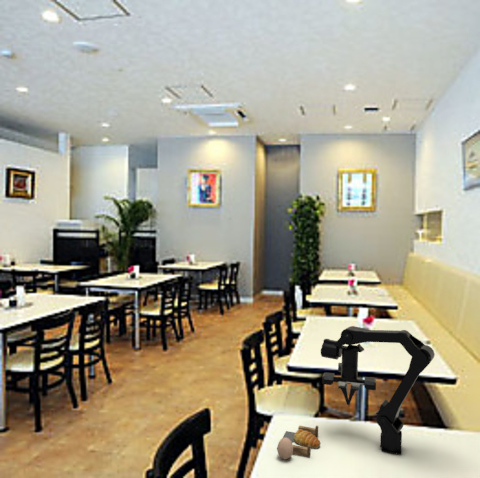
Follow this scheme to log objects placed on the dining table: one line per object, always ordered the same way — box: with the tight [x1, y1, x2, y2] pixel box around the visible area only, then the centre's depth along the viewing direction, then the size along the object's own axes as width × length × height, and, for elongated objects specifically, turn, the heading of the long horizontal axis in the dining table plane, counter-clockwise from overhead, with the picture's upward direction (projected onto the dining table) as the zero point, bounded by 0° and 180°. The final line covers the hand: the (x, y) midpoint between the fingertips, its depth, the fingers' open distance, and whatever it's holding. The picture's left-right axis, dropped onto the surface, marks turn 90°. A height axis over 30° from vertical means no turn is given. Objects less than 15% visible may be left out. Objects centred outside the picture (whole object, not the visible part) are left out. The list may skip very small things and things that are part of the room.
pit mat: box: [282, 430, 296, 444], centre depth 163 cm, size 4×14×1 cm, turn 161°
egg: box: [276, 437, 294, 460], centre depth 151 cm, size 5×5×7 cm
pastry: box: [293, 429, 321, 449], centre depth 161 cm, size 9×7×4 cm
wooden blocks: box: [292, 425, 319, 458], centre depth 161 cm, size 7×17×4 cm, turn 161°
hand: (348, 404), depth 167 cm, fingers closed
